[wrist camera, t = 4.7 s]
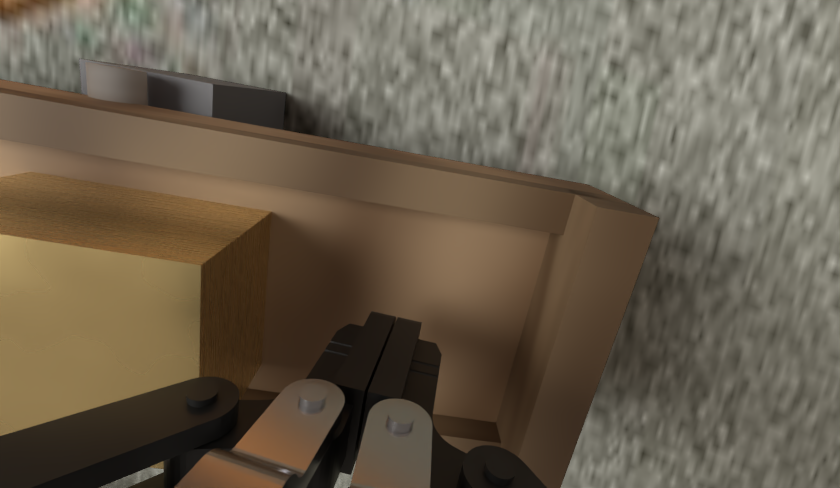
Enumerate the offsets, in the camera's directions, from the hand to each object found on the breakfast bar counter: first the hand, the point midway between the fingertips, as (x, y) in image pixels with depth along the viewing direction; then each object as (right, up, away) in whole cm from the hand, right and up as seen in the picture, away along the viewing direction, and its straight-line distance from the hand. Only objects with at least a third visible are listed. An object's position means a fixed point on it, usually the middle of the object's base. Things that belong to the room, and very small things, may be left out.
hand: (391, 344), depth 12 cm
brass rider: (-8, +2, +1) cm, 8 cm away
